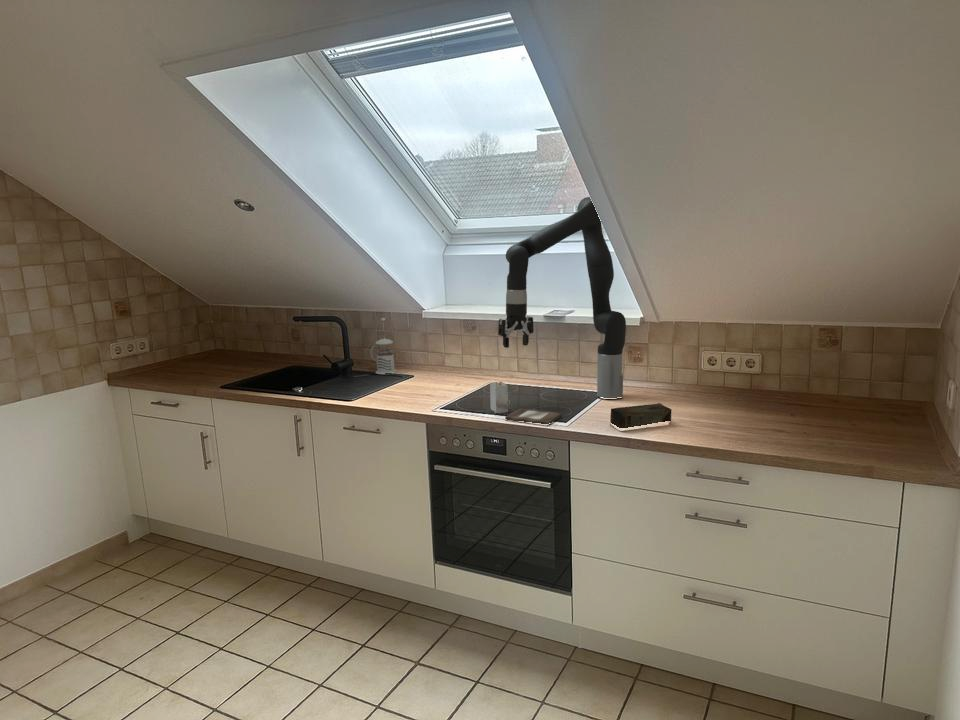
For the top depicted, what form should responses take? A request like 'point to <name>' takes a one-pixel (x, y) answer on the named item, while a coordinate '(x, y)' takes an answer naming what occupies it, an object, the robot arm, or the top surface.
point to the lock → (499, 397)
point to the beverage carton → (640, 415)
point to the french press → (385, 367)
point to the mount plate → (533, 416)
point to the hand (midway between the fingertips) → (515, 346)
